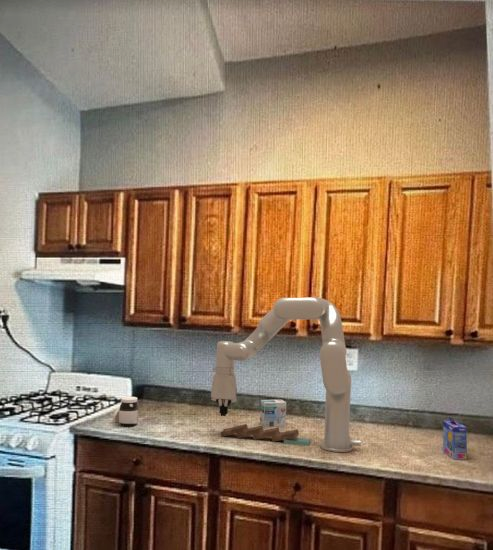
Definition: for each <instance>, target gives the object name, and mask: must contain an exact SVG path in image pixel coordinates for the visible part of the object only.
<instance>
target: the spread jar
mask: <svg viewBox="0 0 493 550" xmlns="http://www.w3.org/2000/svg"><path fill="white" fill-rule="evenodd" d="M112 421H113V422H115V423H118V424H119V426H120V427H124V428H134V427H136V426H137V425H138V423H139V403H138V397H136V396H122V397H121V403H120V405H119V407H117V408H116V410H115V411H114V412H113V414H112Z"/></svg>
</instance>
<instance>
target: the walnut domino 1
mask: <svg viewBox="0 0 493 550" xmlns="http://www.w3.org/2000/svg"><path fill="white" fill-rule="evenodd" d="M247 429H249V427H248V424H247V423H245V424H241V425H237V426H232V427H231V426H230V427H228V428H224V429H223V430H221V432H220V433H221V436H222V437H228V436H232V435H237V433H242V432H245V431H246V430H247Z"/></svg>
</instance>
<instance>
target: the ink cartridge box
mask: <svg viewBox="0 0 493 550" xmlns="http://www.w3.org/2000/svg"><path fill="white" fill-rule="evenodd" d="M448 417H449V420H446V419H445V420H443V421H442V427H443V428H442V451H443V453H445V455H447V456H448V457H450V459H452V460H466V461H467V460H468V446H467V445H468V443H467V440H468V433H467V430H468V429H467V426H466V425H464V424H461V423H460V422H459V421H457V420H455V419H454V418H453V417H451V416H448Z"/></svg>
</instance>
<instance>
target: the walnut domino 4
mask: <svg viewBox="0 0 493 550" xmlns="http://www.w3.org/2000/svg"><path fill="white" fill-rule="evenodd" d="M299 434H300V433H299V430H298V429H293V430H287V431H281V432H280V433H279V434H278V435H277V436H272V437H270V438H271V441H272V442H279V441H284V440H286V439H292V438H296V437H297V438H298V436H299Z"/></svg>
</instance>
